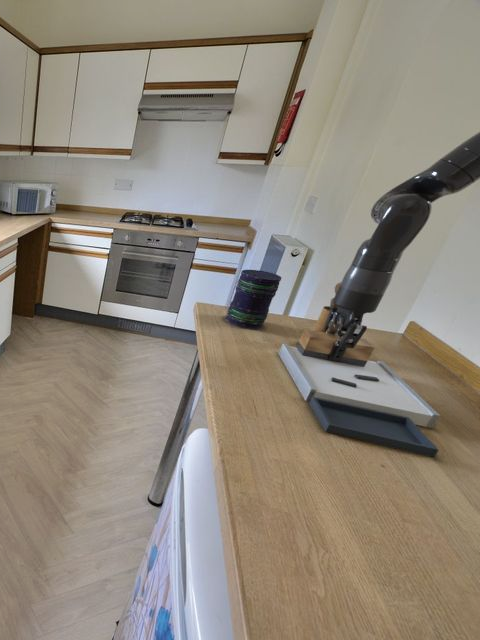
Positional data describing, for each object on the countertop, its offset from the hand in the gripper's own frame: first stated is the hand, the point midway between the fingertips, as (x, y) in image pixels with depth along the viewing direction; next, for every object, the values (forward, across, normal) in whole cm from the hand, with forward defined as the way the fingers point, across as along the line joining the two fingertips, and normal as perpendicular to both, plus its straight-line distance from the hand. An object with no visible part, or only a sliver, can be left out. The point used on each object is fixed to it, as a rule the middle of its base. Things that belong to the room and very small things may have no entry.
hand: (329, 355), depth 98 cm
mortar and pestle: (+3, +11, -1) cm, 12 cm away
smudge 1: (0, -14, +2) cm, 15 cm away
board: (+3, -10, -1) cm, 10 cm away
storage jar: (+3, +22, +14) cm, 27 cm away
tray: (+3, -28, +1) cm, 28 cm away
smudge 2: (0, -10, -4) cm, 10 cm away
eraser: (0, 0, 0) cm, 0 cm away
